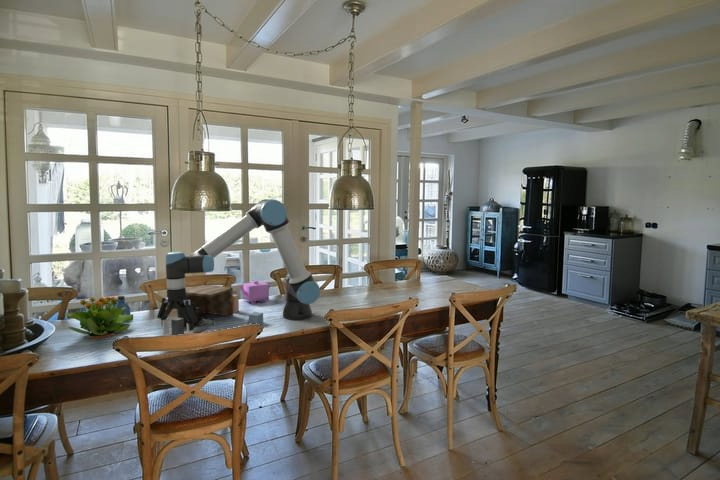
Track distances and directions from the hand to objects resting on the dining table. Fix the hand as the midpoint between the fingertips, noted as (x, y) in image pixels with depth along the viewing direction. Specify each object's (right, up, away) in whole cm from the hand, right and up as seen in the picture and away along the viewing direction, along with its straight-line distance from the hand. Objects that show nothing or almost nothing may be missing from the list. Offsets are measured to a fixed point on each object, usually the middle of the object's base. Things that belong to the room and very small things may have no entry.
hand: (177, 335), depth 183 cm
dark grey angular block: (-1, 0, +11) cm, 11 cm away
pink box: (+17, +5, +66) cm, 68 cm away
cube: (+28, 0, +24) cm, 37 cm away
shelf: (+2, +2, +32) cm, 32 cm away
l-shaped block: (+6, +3, +46) cm, 47 cm away
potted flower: (-36, -1, +3) cm, 36 cm away
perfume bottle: (-40, +1, +28) cm, 49 cm away
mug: (-3, 0, +20) cm, 20 cm away
